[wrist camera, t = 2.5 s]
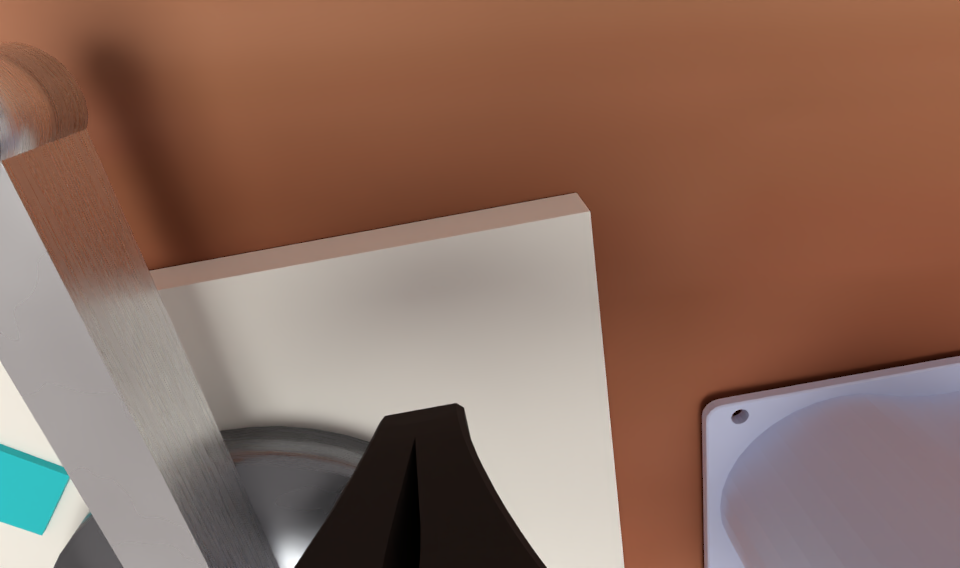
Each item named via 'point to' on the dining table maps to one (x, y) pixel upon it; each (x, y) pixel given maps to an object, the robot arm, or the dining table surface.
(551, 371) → the base board
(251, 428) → the crank handle
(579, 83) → the dining table surface
